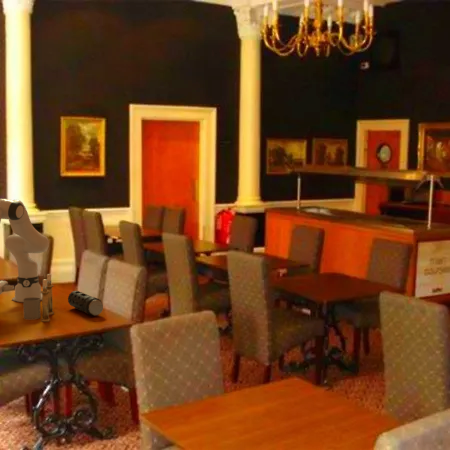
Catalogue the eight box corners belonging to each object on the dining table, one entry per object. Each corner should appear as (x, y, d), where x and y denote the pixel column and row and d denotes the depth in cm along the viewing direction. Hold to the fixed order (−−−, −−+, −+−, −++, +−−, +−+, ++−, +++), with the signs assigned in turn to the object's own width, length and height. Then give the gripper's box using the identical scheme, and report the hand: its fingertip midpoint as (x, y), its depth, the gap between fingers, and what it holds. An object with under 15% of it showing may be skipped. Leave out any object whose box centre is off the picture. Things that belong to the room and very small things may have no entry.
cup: (43, 317, 370) (43, 298, 369) (32, 320, 363) (31, 301, 362) (32, 315, 374) (31, 296, 373) (20, 318, 367) (20, 299, 366)
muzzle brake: (83, 307, 395) (83, 289, 393) (104, 317, 372) (104, 297, 371) (67, 309, 389) (67, 291, 388) (87, 319, 366) (87, 299, 365)
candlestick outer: (41, 320, 363) (41, 279, 361) (50, 319, 364) (49, 278, 362) (40, 322, 359) (39, 280, 357) (49, 321, 359) (48, 280, 357)
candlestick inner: (46, 313, 379) (45, 273, 377) (54, 312, 380) (53, 273, 377) (45, 314, 375) (44, 275, 373) (53, 314, 375) (52, 275, 373)
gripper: (-19, 285, 353) (9, 285, 355) (-10, 278, 373) (16, 278, 375) (-19, 297, 354) (9, 297, 355) (-10, 290, 374) (17, 290, 376)
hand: (13, 287), depth 365 cm, fingers closed
